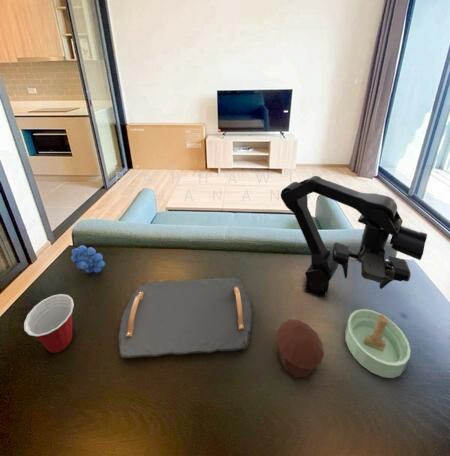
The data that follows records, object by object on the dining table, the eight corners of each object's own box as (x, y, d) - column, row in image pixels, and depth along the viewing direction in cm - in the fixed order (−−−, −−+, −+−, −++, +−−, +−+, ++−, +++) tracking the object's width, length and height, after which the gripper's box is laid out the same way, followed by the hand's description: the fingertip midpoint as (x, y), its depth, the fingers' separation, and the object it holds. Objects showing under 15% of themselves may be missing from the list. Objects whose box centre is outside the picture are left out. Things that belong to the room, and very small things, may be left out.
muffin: (265, 352, 66) (268, 327, 62) (291, 327, 72) (295, 303, 68) (302, 397, 57) (308, 371, 53) (328, 364, 63) (335, 338, 60)
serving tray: (245, 282, 86) (246, 269, 84) (258, 355, 65) (259, 340, 63) (134, 288, 84) (131, 275, 82) (108, 366, 62) (104, 351, 60)
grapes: (68, 281, 87) (60, 254, 82) (79, 266, 93) (72, 241, 89) (100, 282, 86) (94, 255, 82) (109, 267, 93) (104, 241, 88)
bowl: (345, 363, 63) (349, 349, 61) (344, 315, 76) (347, 302, 74) (410, 390, 58) (417, 376, 56) (398, 333, 70) (403, 320, 68)
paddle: (364, 346, 67) (373, 318, 63) (364, 339, 68) (372, 311, 64) (383, 353, 65) (393, 325, 61) (382, 346, 67) (392, 318, 63)
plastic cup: (32, 373, 61) (18, 342, 57) (39, 333, 70) (28, 304, 66) (82, 351, 66) (72, 321, 61) (83, 317, 75) (74, 288, 70)
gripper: (337, 249, 64) (328, 293, 69) (424, 272, 57) (406, 318, 62) (337, 225, 73) (329, 265, 79) (411, 242, 66) (397, 284, 72)
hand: (362, 282), depth 73 cm, fingers open, 9 cm apart
